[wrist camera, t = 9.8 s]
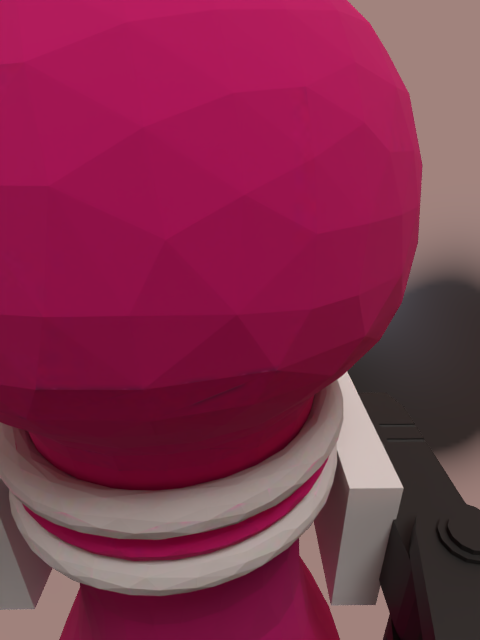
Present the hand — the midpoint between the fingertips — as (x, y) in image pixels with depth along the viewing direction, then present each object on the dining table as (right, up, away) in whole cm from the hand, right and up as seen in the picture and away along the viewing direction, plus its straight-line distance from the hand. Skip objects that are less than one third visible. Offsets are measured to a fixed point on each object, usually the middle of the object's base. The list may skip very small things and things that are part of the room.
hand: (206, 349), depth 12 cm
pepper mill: (0, -12, 0) cm, 12 cm away
